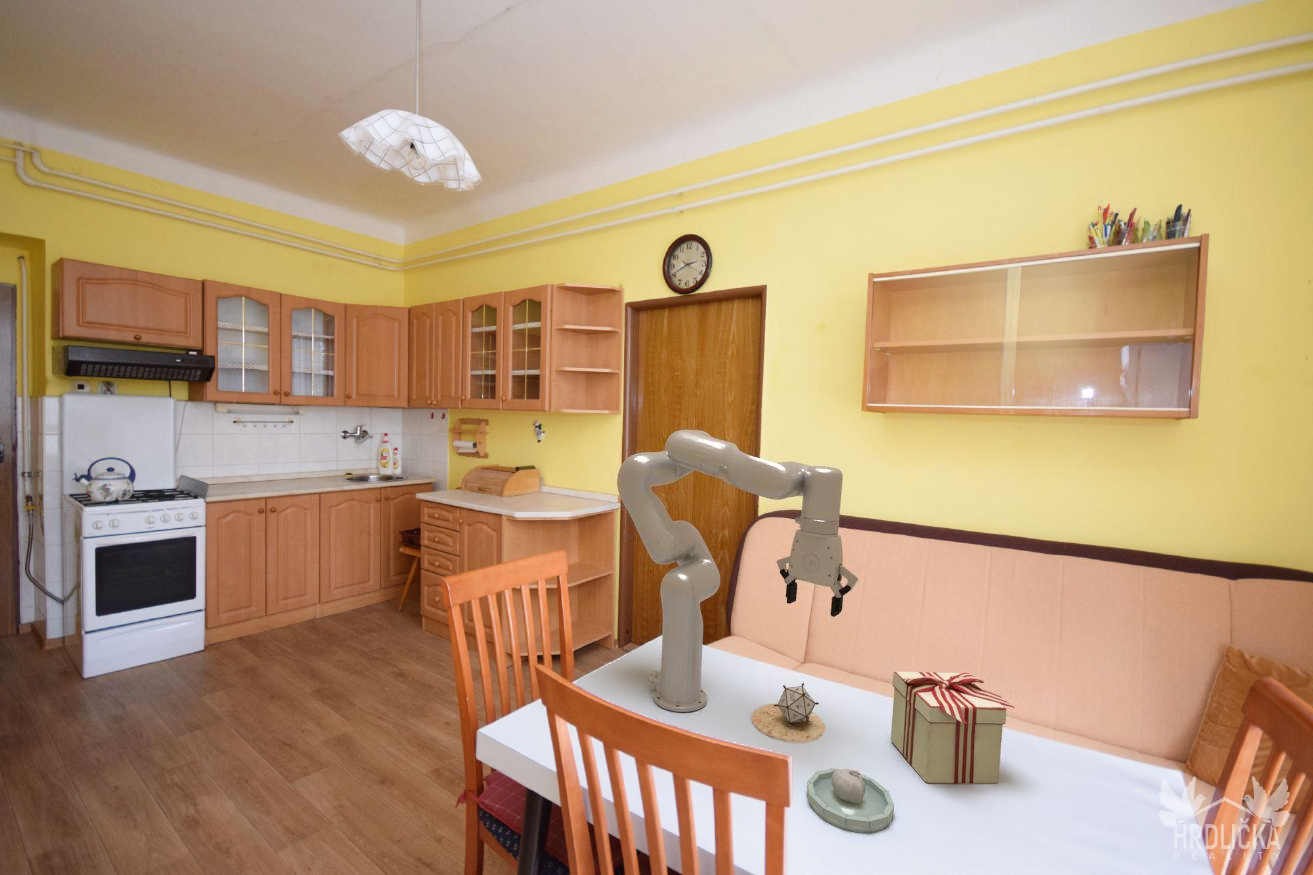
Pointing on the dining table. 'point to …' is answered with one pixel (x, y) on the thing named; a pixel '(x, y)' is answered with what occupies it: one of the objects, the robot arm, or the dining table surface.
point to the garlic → (848, 785)
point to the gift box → (948, 727)
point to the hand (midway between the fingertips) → (812, 608)
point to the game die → (796, 704)
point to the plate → (850, 804)
